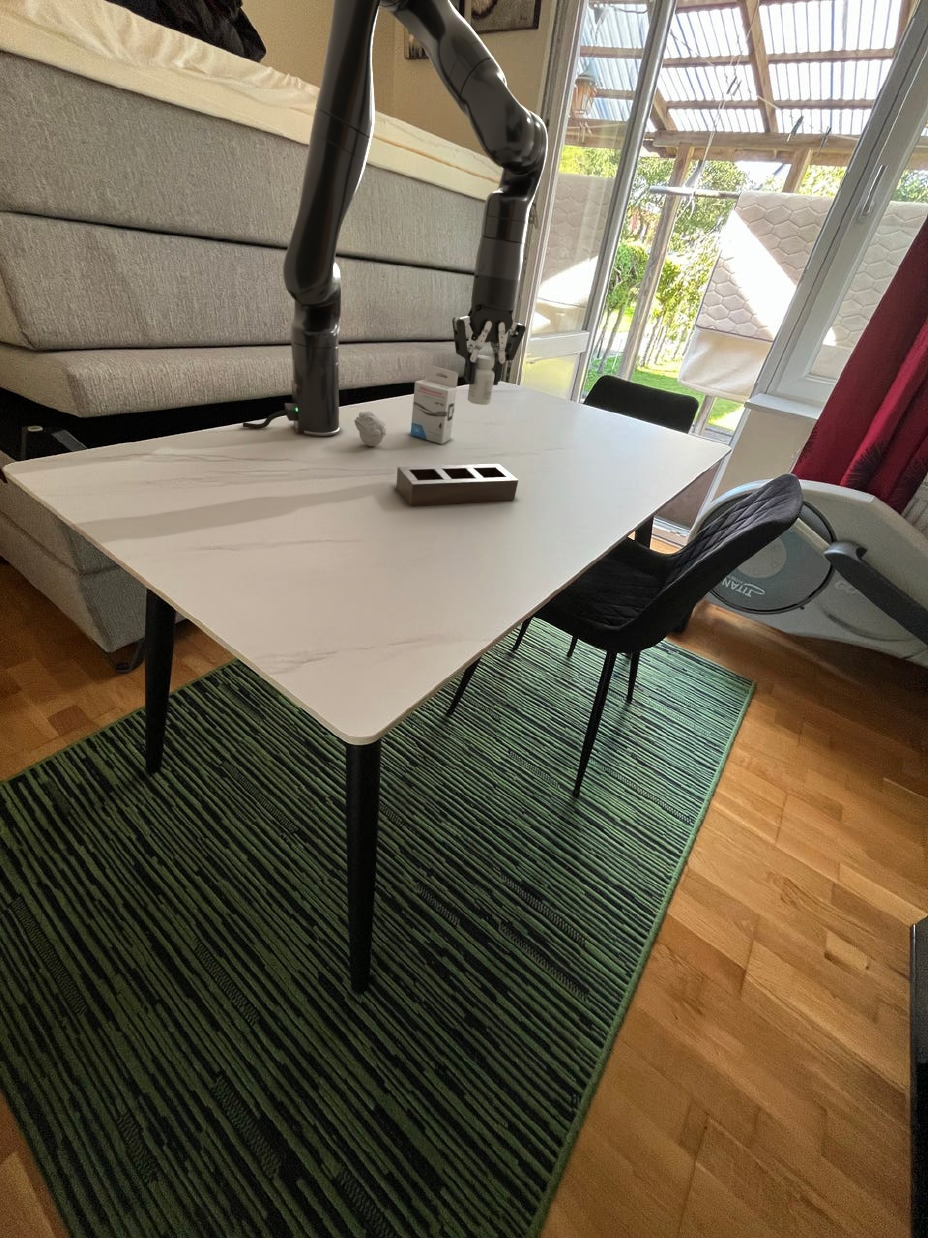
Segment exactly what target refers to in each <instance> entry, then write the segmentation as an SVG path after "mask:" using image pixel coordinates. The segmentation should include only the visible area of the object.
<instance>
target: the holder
mask: <svg viewBox="0 0 928 1238" xmlns="http://www.w3.org/2000/svg"><path fill="white" fill-rule="evenodd" d="M396 468H397V469H396V486H395V487H396V489H397V490H398V492H399V493H400V494H401V495H402V497H403V498H404V500H405V501H406V502H407V503H408V504H409V506H410V507H421V506H435V505H436V506H437V505H454V504H456V505H457V504H471V503H472V504H473V503H486V502H487V503H489V502H490V503H491V502H505V501H515V499H516V493H517V488H518V483H519V479H518V478H516V477H515V476H514V475H513V474H511V473H510V472H509V471H508V470H507V469H506V468H504V467H503V466H502V465H501V464H500V463H487V464H486V463H484V464H483V463H482V464H449V465H448V464H446V465H406V466H404V465H403V466H397V467H396Z"/></svg>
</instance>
